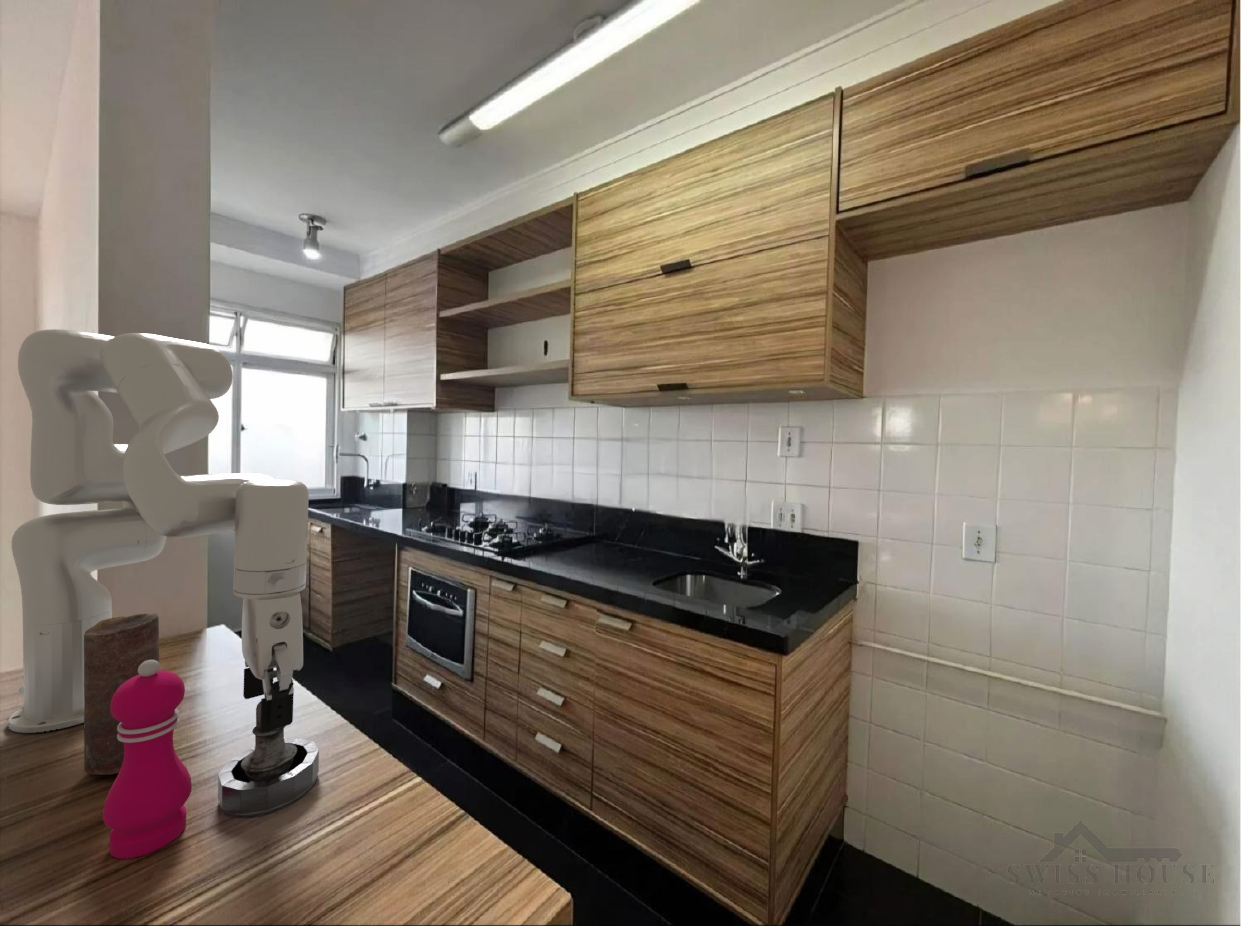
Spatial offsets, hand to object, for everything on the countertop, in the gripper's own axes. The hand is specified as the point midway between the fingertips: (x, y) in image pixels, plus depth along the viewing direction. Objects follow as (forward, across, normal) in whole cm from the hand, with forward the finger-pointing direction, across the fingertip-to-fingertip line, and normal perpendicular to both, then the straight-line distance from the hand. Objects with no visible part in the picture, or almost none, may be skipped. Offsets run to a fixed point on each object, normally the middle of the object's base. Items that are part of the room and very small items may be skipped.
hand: (267, 710), depth 65 cm
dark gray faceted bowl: (+10, -1, 0) cm, 10 cm away
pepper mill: (+10, -1, +11) cm, 15 cm away
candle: (+11, +17, +12) cm, 24 cm away
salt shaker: (+10, -1, 0) cm, 10 cm away
